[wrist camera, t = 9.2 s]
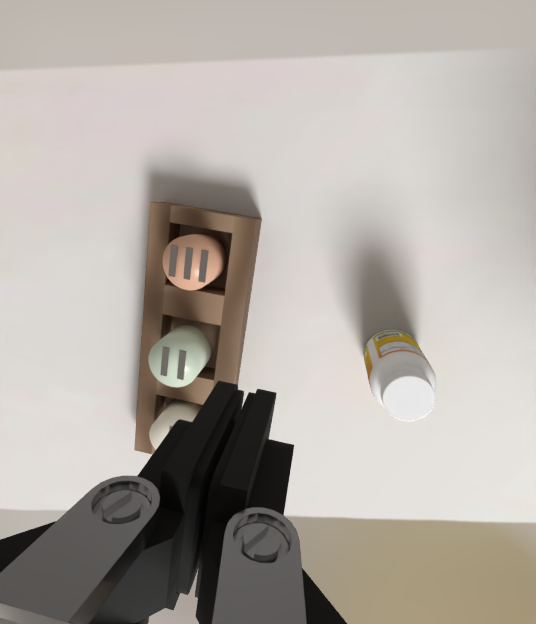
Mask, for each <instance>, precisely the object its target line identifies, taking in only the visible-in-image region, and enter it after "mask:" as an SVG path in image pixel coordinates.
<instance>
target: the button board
mask: <svg viewBox="0 0 536 624" xmlns="http://www.w3.org/2000/svg"><path fill="white" fill-rule="evenodd" d="M261 221H262V219H261V218H255V217H249V216H243V215H237V214H231V213H225V212H219V211H213V210H207V209H201V208H195V207H189V206H183V205H177V204H171V203H165V202H150V217H149V233H148V248H147V264H146V279H145V295H144V310H143V326H142V341H141V357H140V372H139V388H138V403H137V419H136V434H135V450H136V451H140V452H145V453H149V454H154V452H155V451H156V450H155V448H154V447H153V445H152V444H151V441H150V437H149V432H150V428H151V426H152V424H153V423H154V422H155V421H156V419H157V418H158V417H159V416H160V414H161V413H162V412H163V411H164V409H165V408H166V407H167V406H168V404H169V403H170V402H172V401H173V400H175V399H179V400H184V401H188V402H193V403H197V404H199V405H200V406H201V407H202V406H203V404H204V402H205V401H206V399H207V398H208V396H209V395H210V393H211V391H212V390H213V388H214V387H215V385H216V383H217V382H218V381H223V382H228V383H233V384H237V385H238V379H239V372H240V365H241V358H242V352H243V345H244V338H245V331H246V324H247V317H248V310H249V303H250V296H251V290H252V283H253V276H254V269H255V262H256V255H257V248H258V241H259V234H260V228H261ZM195 233H207V234H210V235H212V236H214V237H216V238H217V239H218V240H219V241H220V242H221V243H222V245H223V247H224V249H225V252H226V266H225V268H224V270H223V272H222V274H221V275H220V276H219V277H217V278H216V279H214V280H213V281H211V282H210V283H208V284H207V285H205V286H204V287H202V288H200V289H197V290H184V289H181V288H179V287H177V286H176V285H174V284H173V283H172V282H171V281H170V280H169V279H168V277H167V276H166V274H165V271H164V268H163V254H164V251H165V249H166V247H167V246H168V244H169V243H170V242H171V241H173V240H174V239H176V238H178V237H182V236H186V235H190V234H195ZM181 325H191V326H195V327H197V328H199V329H200V330H202V331H203V332H204V333H205V334H206V335H207V337H208V338H209V340H210V343H211V347H212V353H211V357H210V359H209V361H208V362H207V364H206V365H205V366H204V368H203V369H202V370H201V371H200V373H199V374H198V375H197V377H196V378H195V379H194V380H193V381H192V382H191V383H190V384H188V385H186V386H183V387H170V386H167V385H165V384H163V383H161V382H160V381H159V380H158V379H157V378H156V377H155V376H154V375H153V373H152V371H151V369H150V366H149V353H150V350H151V348H152V347H153V346H154V345H155V344H156V343H157V342H158V341H159V340H161V339H162V338H163V337H164V336H166V335H167V334H168V333H169V332H171V331H172V330H173V329H174V328H176V327H178V326H181Z"/></svg>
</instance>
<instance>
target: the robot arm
mask: <svg viewBox="0 0 536 624" xmlns="http://www.w3.org/2000/svg"><path fill="white" fill-rule="evenodd" d="M243 396H244V391H241V390H238V385H237V384H233V383H228V382H223V381H218V382H217V383H216V385H215V387H214V388H213V390H212V391H211V393H210V395H209V396H208V398H207V399H206V401H205V402H204V404H203V406H202V407H201V409H200V410H199V412H198V414H197V415H196V417H195V418H194V420H193V421H192V422H190V421H186V420H181V419H179V420H177V421H176V422H175V424H174V425H173V427H172V428H171V429H170V431H169V432H168V434H167V435H166V437H165V438H164V439H163V441H162V442H161V444H160V445H159V446H158V448H157V449H156V451H155V452H154V454H153V455H152V456H151V458H150V459H149V461H148V462H147V463H146V465H145V466H144V468H143V469H142V471H141V472H140V473H139V475H138V476H119V477H114V478H110V479H108V480H106V481H103V482H101V483H100V484H98V485H97V486H95V487H94V488H93V489H91V490H90V491H89V492H88V493H87V494H86V495H85V496H84V497H83V498H82V499H80V500H79V501H78V502H77V503H76V504H75V505H74V506H73V507H72V508H71V509H69V510H68V511H67V512H66V513H65V514H64V515H63V516H62V517H61V518H60V519H59V520H57V521H56V522H52V523H50V524H47V525H43V526H40V527H37V528H35V529H31V530H28V531H25V532H22V533H19V534H16V535H13V536H10V537H7V538H4V539H1V540H0V624H148V622H149V616H151V615H153V614H154V613H156V612H158V611H160V610H162V609H164V608H168V609H171V610H174V607H175V605H176V602H177V600H178V597H179V595H180V593H183V594H187V595H188V594H189V592H190V589H191V587H192V584H193V581H194V578H195V575H196V573H197V570H198V567H199V570H198V576H197V585H196V591H195V597H197V598H198V604H197V610H196V618H197V620H198V622H199V624H347V623H346V622H345V621H344V619H343V618H342V617H341V616H340V614H339V613H338V612H337V611H336V609H335V608H334V607H333V606H332V604H331V603H330V602H329V601H328V599H327V598H326V597H325V596H324V595H323V593H322V592H321V591H320V589H319V588H318V587H317V586H316V585H315V583H314V582H313V581H312V580H311V578H310V577H309V576H308V575H307V573H306V572H305V571H304V570H303V568H302V564H301V551H300V541H299V537H298V533H297V530H296V529H295V527H294V526H293V524H292V523H291V522H290V521H289V520H288V519H287V518H286V517H285V516H284V508H285V502H286V495H287V488H288V482H289V475H290V469H291V462H292V456H293V449H294V445H292V444H287V443H283V442H278V441H274V440H270V439H269V433H270V427H271V422H272V416H273V411H274V405H275V399H276V393H275V392H270V391H265V390H261V389H257V391H256V394H255V393H250V392H249V394H248V396H247V398H246V400H245V403H244V405H243V407H242V402H243ZM241 409H242V410H241Z"/></svg>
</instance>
